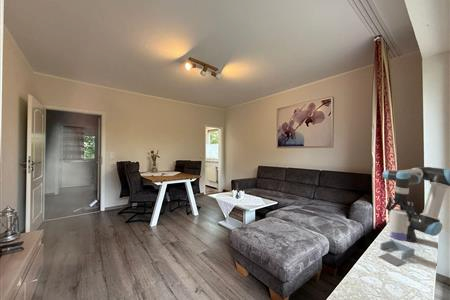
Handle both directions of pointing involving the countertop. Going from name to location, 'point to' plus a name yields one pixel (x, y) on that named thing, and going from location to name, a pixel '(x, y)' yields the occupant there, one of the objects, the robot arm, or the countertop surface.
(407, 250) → the cradle
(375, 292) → the countertop surface
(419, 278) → the countertop surface
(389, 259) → the mat
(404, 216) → the container
